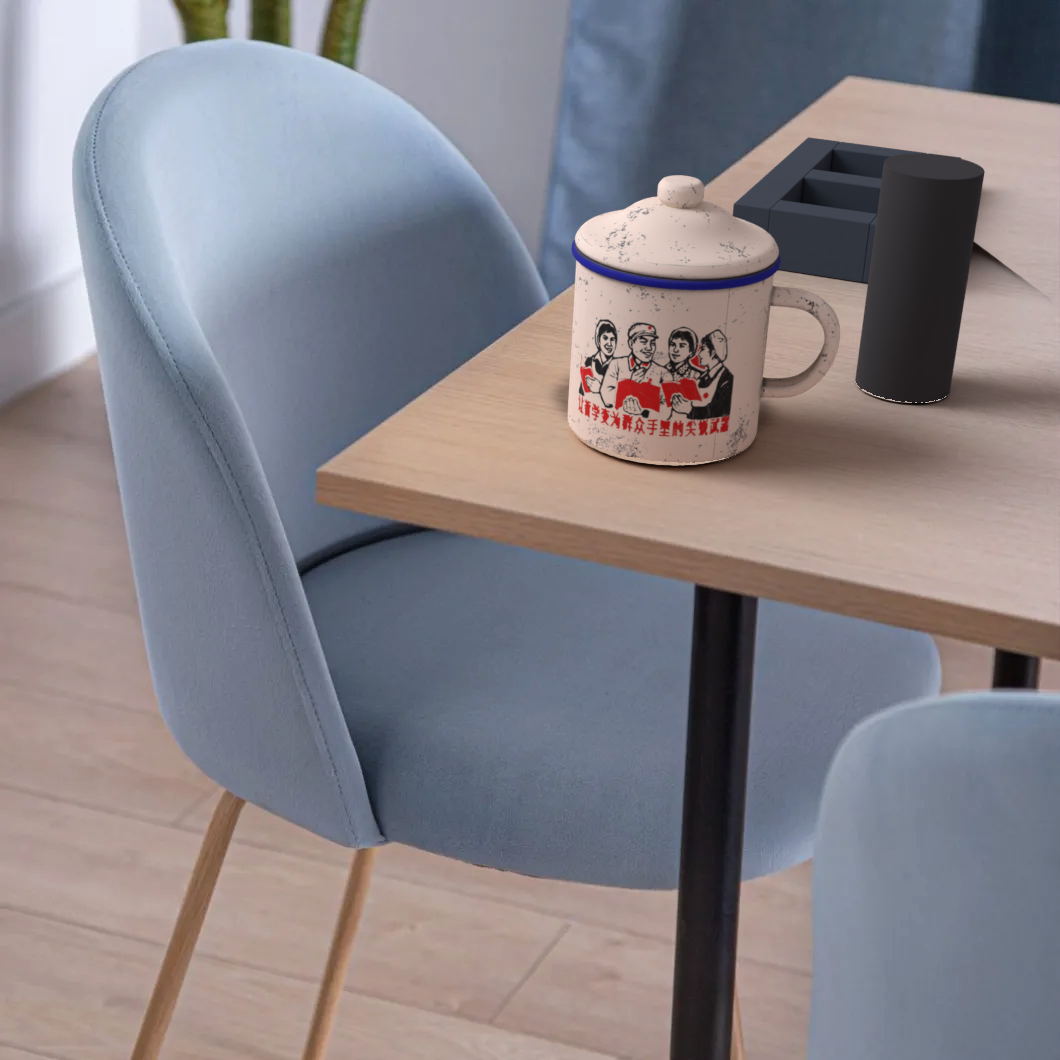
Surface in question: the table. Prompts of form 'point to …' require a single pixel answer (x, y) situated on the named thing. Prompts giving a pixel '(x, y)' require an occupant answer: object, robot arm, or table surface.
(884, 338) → the black cylinder
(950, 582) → the table surface
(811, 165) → the divided rectangular tray
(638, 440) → the teacup with lid
